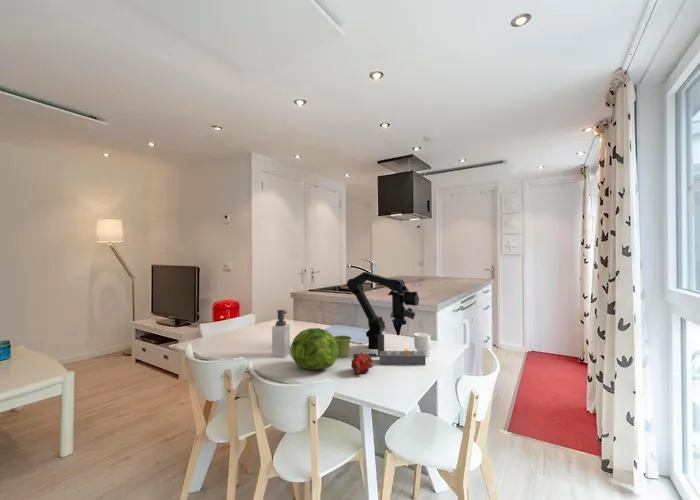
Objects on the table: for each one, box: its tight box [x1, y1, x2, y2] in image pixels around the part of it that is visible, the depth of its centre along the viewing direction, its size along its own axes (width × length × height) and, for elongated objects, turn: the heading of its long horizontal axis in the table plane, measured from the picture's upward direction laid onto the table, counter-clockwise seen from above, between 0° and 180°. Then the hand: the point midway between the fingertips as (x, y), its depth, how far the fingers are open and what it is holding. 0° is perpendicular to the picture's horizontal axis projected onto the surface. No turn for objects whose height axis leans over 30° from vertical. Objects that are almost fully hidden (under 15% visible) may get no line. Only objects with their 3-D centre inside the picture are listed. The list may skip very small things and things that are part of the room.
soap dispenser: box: [271, 309, 291, 358], centre depth 165 cm, size 6×9×22 cm
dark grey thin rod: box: [352, 352, 377, 358], centre depth 159 cm, size 11×1×1 cm, turn 95°
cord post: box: [377, 333, 385, 358], centre depth 160 cm, size 3×3×10 cm
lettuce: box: [289, 327, 339, 371], centre depth 145 cm, size 18×23×19 cm
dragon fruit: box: [350, 352, 374, 375], centre depth 139 cm, size 8×8×12 cm
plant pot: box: [333, 335, 352, 358], centre depth 161 cm, size 9×9×9 cm
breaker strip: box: [379, 348, 426, 366], centre depth 151 cm, size 20×7×6 cm, turn 87°
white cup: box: [413, 332, 432, 358], centre depth 160 cm, size 8×8×10 cm
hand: (398, 335), depth 167 cm, fingers closed
